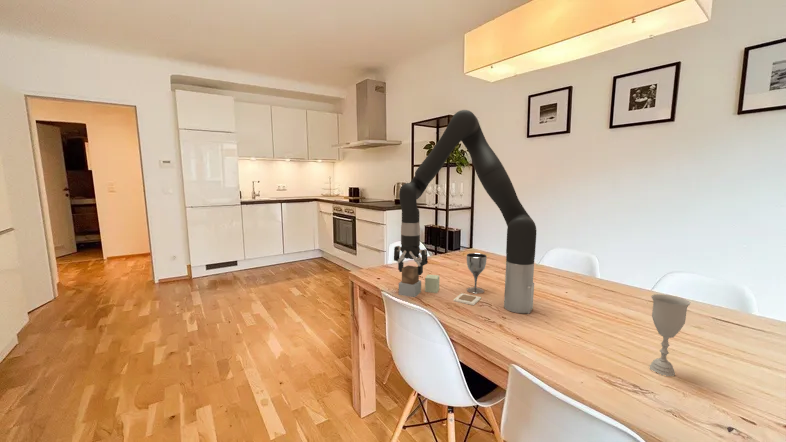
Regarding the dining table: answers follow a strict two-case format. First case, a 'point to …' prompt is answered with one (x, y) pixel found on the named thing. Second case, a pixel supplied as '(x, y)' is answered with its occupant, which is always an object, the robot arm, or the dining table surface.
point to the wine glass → (476, 268)
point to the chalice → (667, 326)
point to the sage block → (432, 283)
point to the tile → (467, 299)
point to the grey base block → (409, 289)
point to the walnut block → (410, 275)
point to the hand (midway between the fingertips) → (410, 273)
